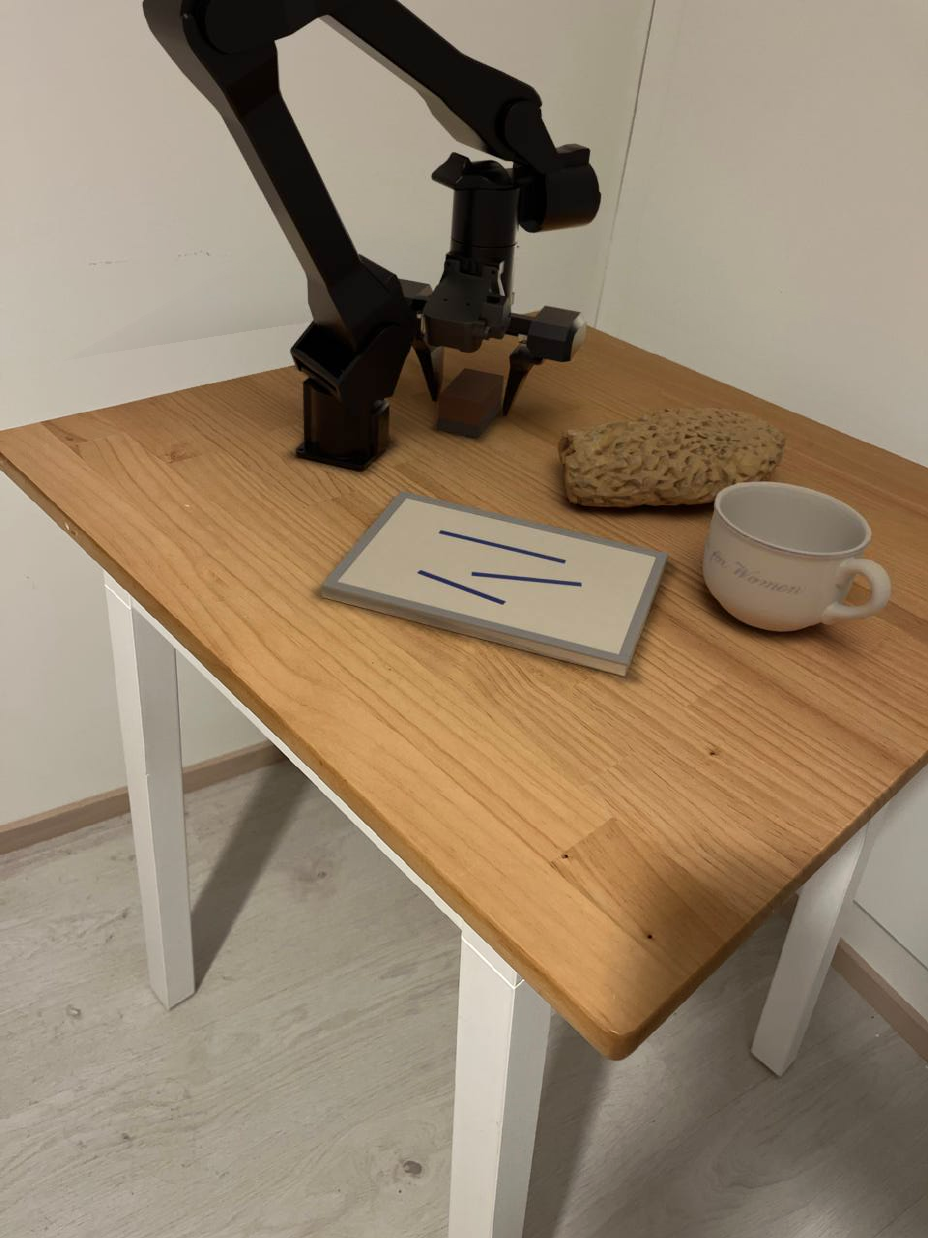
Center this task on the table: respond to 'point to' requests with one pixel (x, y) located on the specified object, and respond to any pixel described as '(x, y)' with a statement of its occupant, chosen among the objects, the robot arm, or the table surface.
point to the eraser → (470, 402)
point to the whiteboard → (503, 580)
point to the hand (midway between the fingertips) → (470, 407)
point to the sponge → (668, 457)
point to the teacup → (788, 557)
